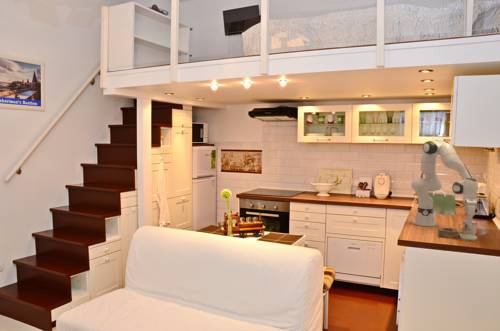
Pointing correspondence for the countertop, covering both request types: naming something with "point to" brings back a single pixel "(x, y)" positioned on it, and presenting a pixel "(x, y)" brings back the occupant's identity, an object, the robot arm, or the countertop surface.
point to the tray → (467, 237)
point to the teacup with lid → (472, 228)
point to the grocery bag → (443, 203)
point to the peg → (468, 224)
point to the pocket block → (447, 233)
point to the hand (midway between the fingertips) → (468, 219)
